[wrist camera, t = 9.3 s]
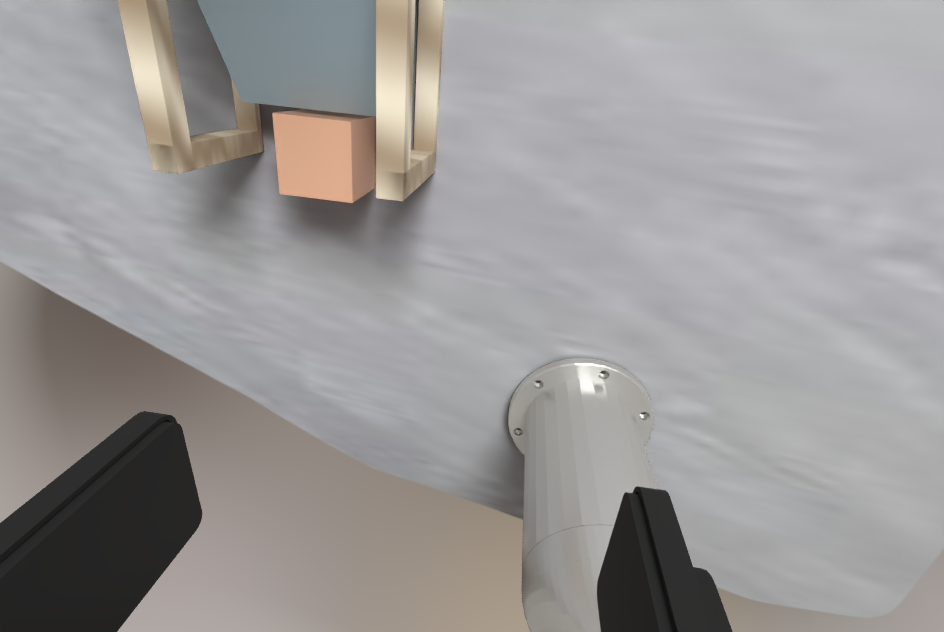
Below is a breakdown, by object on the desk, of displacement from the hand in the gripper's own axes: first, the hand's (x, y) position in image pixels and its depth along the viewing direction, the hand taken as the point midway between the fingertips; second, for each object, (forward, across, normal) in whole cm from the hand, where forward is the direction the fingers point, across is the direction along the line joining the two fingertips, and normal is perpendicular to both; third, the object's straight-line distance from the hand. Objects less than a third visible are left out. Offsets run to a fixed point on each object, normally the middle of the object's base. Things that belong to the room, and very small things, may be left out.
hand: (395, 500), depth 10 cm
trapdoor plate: (+22, +12, -11) cm, 27 cm away
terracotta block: (+25, +12, -6) cm, 28 cm away
